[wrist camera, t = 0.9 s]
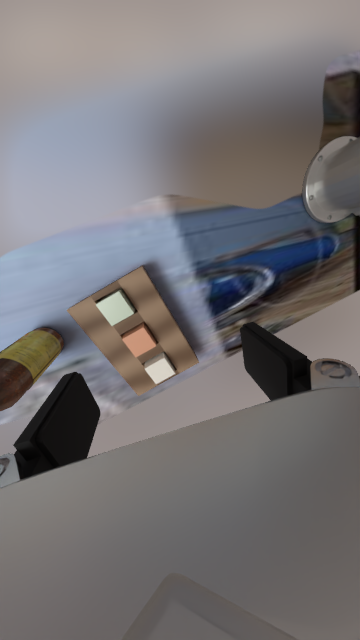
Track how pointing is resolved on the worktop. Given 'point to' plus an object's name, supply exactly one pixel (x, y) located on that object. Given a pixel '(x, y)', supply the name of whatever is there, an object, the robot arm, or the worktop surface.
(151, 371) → the cream button
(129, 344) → the terracotta button
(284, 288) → the worktop surface
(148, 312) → the button panel
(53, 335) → the sauce bottle
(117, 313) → the sage button
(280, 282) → the worktop surface
